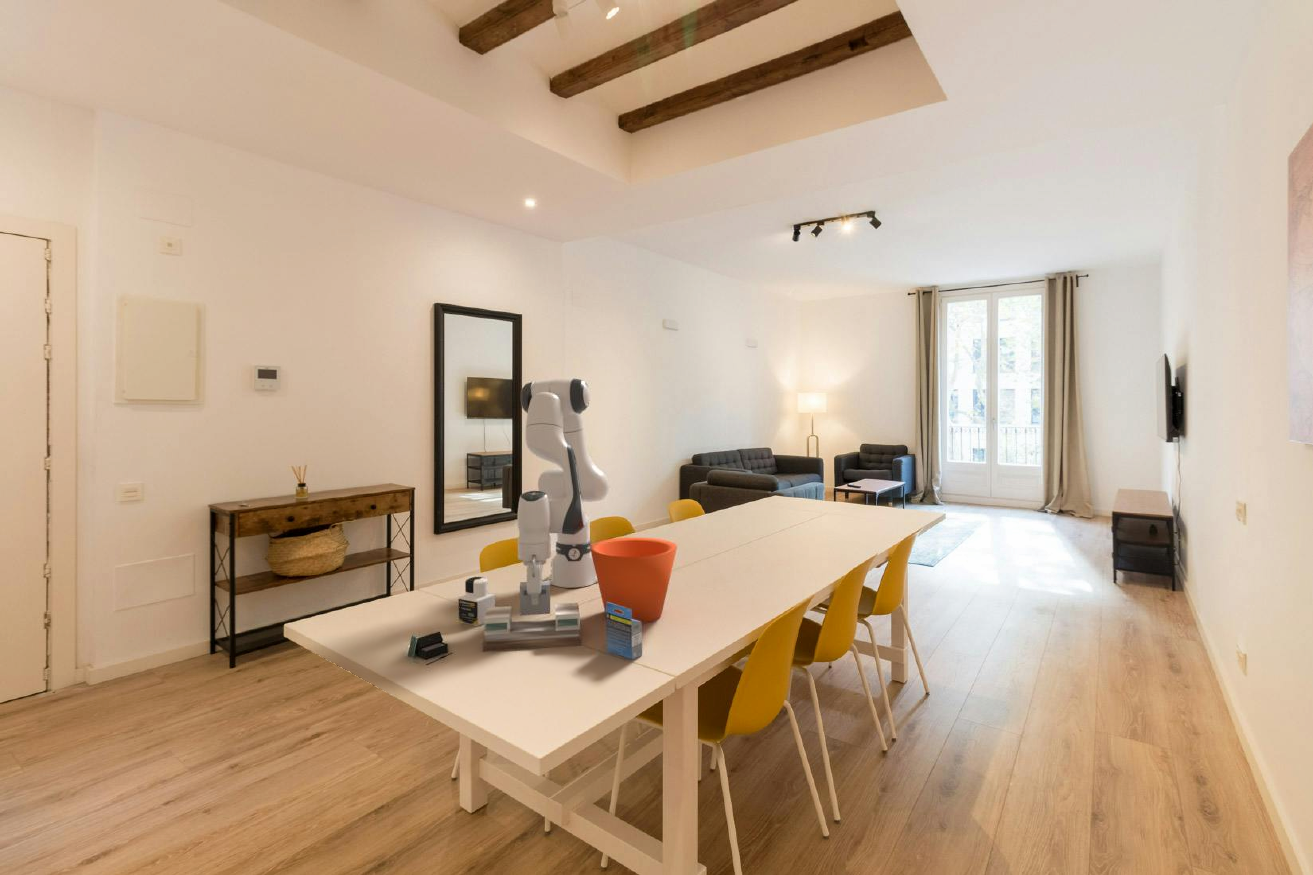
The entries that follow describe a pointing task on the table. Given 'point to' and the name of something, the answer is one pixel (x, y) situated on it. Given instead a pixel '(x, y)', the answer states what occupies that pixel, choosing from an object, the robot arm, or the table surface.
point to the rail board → (531, 629)
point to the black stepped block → (428, 647)
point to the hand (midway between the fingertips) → (535, 600)
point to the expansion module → (543, 600)
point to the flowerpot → (634, 574)
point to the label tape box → (623, 632)
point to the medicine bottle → (475, 601)
